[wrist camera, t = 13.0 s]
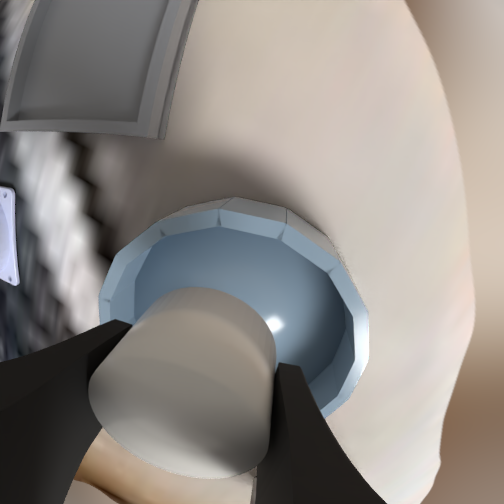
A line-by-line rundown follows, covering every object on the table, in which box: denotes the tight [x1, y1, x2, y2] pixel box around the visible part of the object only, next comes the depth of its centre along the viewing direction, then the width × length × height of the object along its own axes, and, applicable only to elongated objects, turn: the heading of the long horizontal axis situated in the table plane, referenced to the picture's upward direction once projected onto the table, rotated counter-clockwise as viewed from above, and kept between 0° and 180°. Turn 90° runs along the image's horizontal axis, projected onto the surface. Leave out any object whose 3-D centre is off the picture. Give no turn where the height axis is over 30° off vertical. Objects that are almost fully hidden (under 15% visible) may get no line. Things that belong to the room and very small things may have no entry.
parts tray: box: [0, 0, 199, 139], centre depth 12 cm, size 12×15×2 cm
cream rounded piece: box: [88, 287, 277, 479], centre depth 7 cm, size 4×4×3 cm
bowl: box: [99, 197, 369, 419], centre depth 16 cm, size 14×14×4 cm
